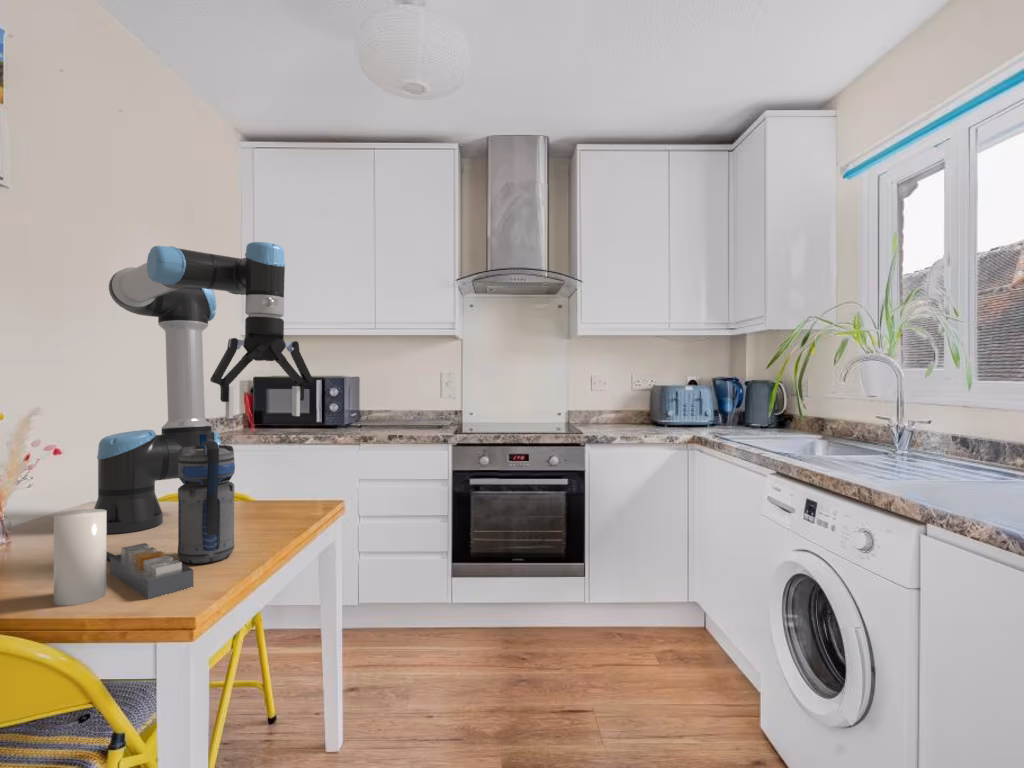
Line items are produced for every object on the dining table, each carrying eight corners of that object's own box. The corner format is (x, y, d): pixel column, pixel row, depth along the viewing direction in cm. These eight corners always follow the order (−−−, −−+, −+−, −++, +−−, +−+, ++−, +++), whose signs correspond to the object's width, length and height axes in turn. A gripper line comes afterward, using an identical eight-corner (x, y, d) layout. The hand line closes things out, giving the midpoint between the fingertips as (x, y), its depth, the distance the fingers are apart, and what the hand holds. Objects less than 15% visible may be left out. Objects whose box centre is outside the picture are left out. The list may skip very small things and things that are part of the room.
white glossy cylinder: (47, 599, 93) (47, 514, 93) (97, 586, 99) (97, 507, 99) (61, 609, 89) (61, 521, 89) (113, 595, 95) (113, 512, 95)
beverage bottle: (183, 573, 106) (183, 440, 106) (173, 555, 117) (174, 435, 117) (241, 562, 113) (242, 437, 112) (227, 547, 123) (228, 432, 123)
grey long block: (110, 575, 106) (110, 548, 106) (152, 565, 112) (152, 540, 112) (148, 601, 94) (148, 571, 94) (193, 589, 99) (193, 561, 99)
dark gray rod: (96, 555, 117) (96, 549, 117) (103, 553, 118) (103, 548, 118) (117, 566, 110) (117, 559, 110) (124, 564, 111) (124, 558, 111)
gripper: (204, 310, 109) (203, 420, 109) (328, 320, 125) (327, 416, 126) (194, 313, 115) (193, 417, 115) (315, 322, 131) (314, 413, 131)
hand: (263, 417), depth 120 cm, fingers open, 13 cm apart
